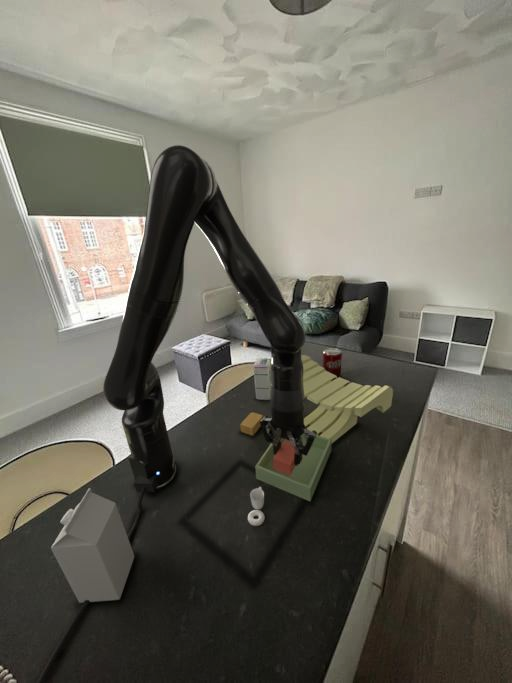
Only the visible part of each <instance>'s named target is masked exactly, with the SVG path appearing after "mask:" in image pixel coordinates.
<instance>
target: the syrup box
mask: <svg viewBox="0 0 512 683" xmlns="http://www.w3.org/2000/svg"><path fill="white" fill-rule="evenodd" d="M252 367H253V368H252V370H253V379H254V389H255V399H256V400H260V401H270V389H271V373H270V372H271V358H265V357H263V358H255V361H254V362H253V365H252Z"/></svg>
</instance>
